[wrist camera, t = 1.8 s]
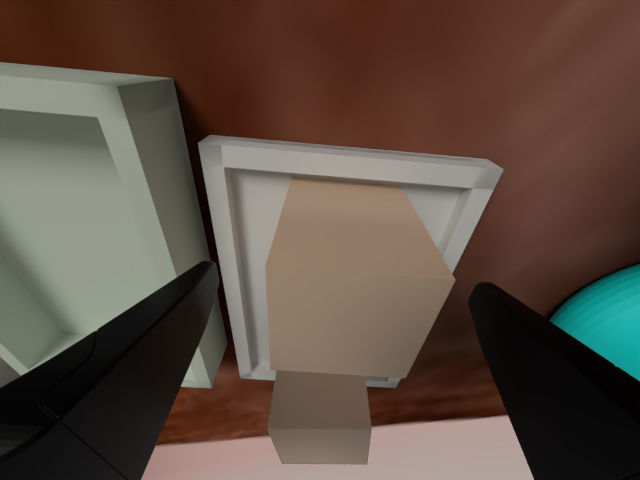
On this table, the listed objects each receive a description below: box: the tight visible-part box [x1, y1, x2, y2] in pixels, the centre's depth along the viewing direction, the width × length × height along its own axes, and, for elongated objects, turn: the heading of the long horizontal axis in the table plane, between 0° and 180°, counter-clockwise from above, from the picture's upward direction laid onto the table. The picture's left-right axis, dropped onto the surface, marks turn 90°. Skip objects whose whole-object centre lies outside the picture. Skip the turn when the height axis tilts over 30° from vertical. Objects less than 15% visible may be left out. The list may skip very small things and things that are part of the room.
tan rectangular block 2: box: [267, 370, 371, 464], centre depth 15 cm, size 4×4×6 cm
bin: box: [0, 62, 227, 388], centre depth 12 cm, size 11×16×3 cm
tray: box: [198, 135, 503, 388], centre depth 14 cm, size 11×16×1 cm
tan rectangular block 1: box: [265, 177, 456, 378], centre depth 10 cm, size 4×4×6 cm
